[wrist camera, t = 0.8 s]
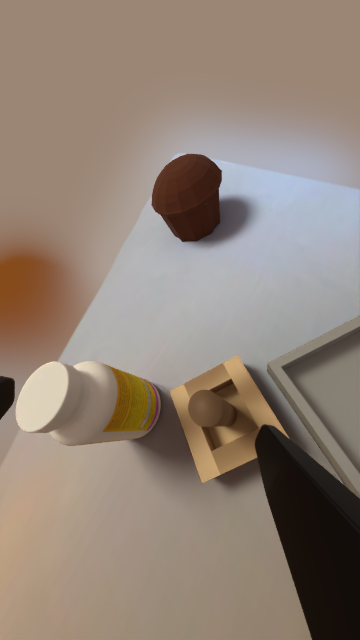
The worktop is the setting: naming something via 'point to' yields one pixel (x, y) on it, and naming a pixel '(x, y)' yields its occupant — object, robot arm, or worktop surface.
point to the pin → (210, 410)
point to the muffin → (189, 196)
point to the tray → (327, 395)
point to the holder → (227, 441)
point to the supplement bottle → (87, 404)
